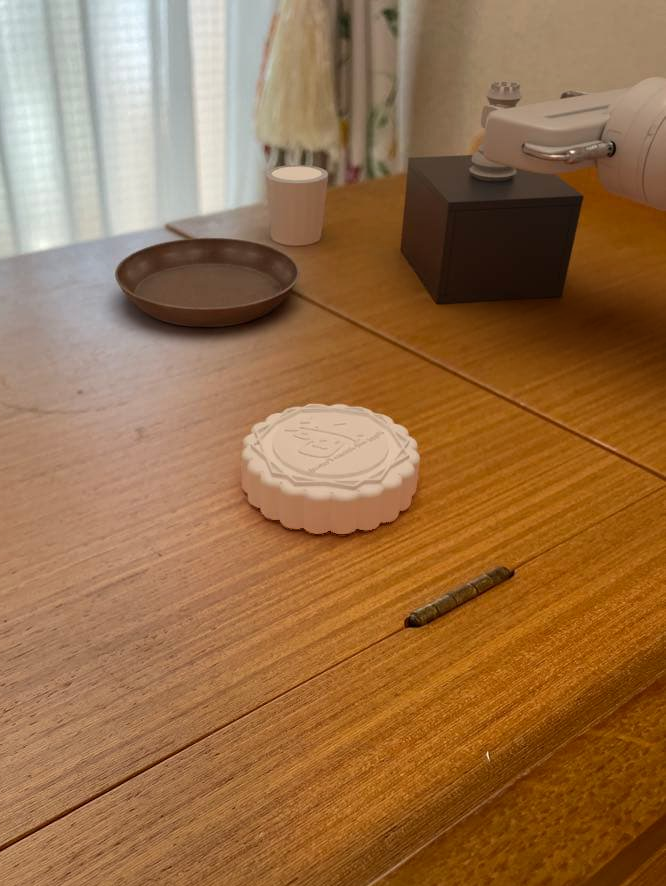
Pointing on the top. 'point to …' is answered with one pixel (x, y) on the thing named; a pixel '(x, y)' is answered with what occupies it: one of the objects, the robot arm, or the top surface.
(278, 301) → the plant saucer
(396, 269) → the top surface
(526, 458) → the top surface
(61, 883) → the top surface
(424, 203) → the cabinet
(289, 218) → the pale pink cup
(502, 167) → the rook chess piece
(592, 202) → the top surface
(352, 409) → the mooncake
